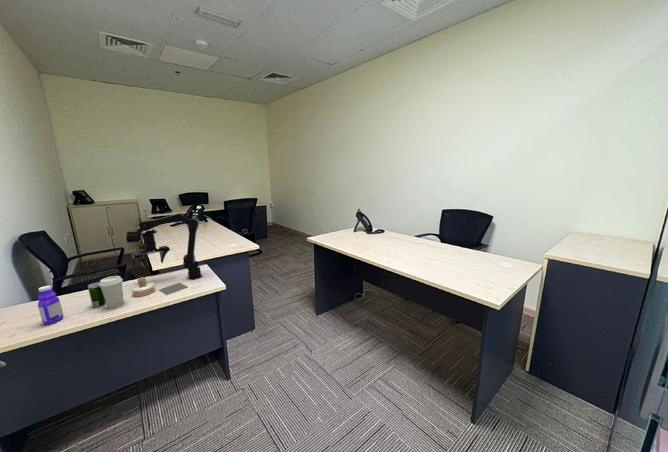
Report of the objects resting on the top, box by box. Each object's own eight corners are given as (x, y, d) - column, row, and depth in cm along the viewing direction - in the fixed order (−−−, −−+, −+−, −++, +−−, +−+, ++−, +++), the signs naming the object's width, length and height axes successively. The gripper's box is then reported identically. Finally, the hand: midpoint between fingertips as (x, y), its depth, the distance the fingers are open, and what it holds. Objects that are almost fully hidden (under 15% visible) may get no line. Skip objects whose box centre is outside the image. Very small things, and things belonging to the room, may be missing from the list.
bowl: (150, 288, 158) (149, 282, 157) (156, 292, 152) (155, 286, 151) (131, 294, 150) (130, 288, 149) (137, 298, 145) (136, 292, 144)
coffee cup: (132, 301, 142) (126, 275, 139) (116, 310, 133) (110, 283, 129) (116, 300, 143) (110, 275, 140) (99, 310, 134) (92, 282, 130)
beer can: (104, 306, 137) (99, 285, 135) (91, 308, 135) (85, 287, 132) (107, 301, 142) (102, 281, 139) (94, 304, 140) (89, 283, 137)
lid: (150, 281, 158) (148, 273, 157) (157, 286, 151) (156, 277, 150) (128, 288, 149) (126, 279, 148) (135, 293, 143) (133, 284, 142)
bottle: (54, 317, 128) (45, 284, 124) (67, 316, 128) (58, 283, 125) (39, 326, 121) (29, 291, 117) (53, 325, 121) (43, 290, 118)
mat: (179, 283, 163) (179, 282, 163) (188, 287, 156) (188, 287, 156) (157, 290, 154) (157, 289, 154) (166, 295, 147) (166, 295, 147)
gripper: (160, 235, 170) (164, 258, 174) (125, 242, 156) (130, 267, 159) (168, 238, 164) (172, 261, 167) (132, 245, 149) (137, 271, 152)
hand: (153, 265), depth 162 cm, fingers open, 9 cm apart
